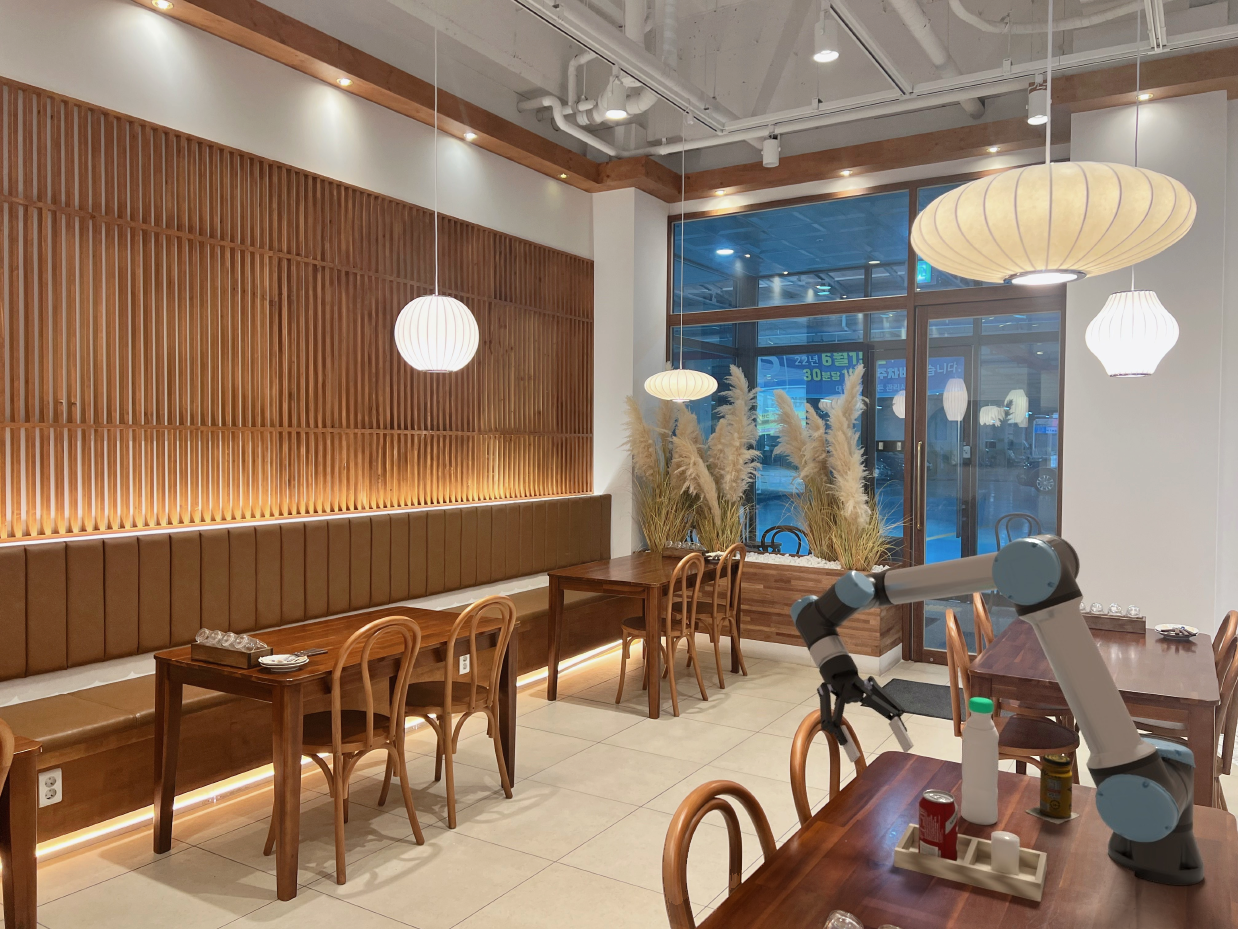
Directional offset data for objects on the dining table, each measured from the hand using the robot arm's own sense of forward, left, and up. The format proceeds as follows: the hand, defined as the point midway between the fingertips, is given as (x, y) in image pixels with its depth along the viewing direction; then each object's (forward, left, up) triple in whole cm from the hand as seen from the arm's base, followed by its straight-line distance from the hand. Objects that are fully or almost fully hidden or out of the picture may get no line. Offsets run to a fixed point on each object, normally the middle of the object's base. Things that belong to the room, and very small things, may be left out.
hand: (883, 754), depth 172 cm
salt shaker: (-23, +7, -15) cm, 29 cm away
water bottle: (-16, -19, -16) cm, 29 cm away
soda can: (-12, +7, -15) cm, 21 cm away
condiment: (-29, -30, -16) cm, 44 cm away
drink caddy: (-18, +7, -16) cm, 25 cm away
